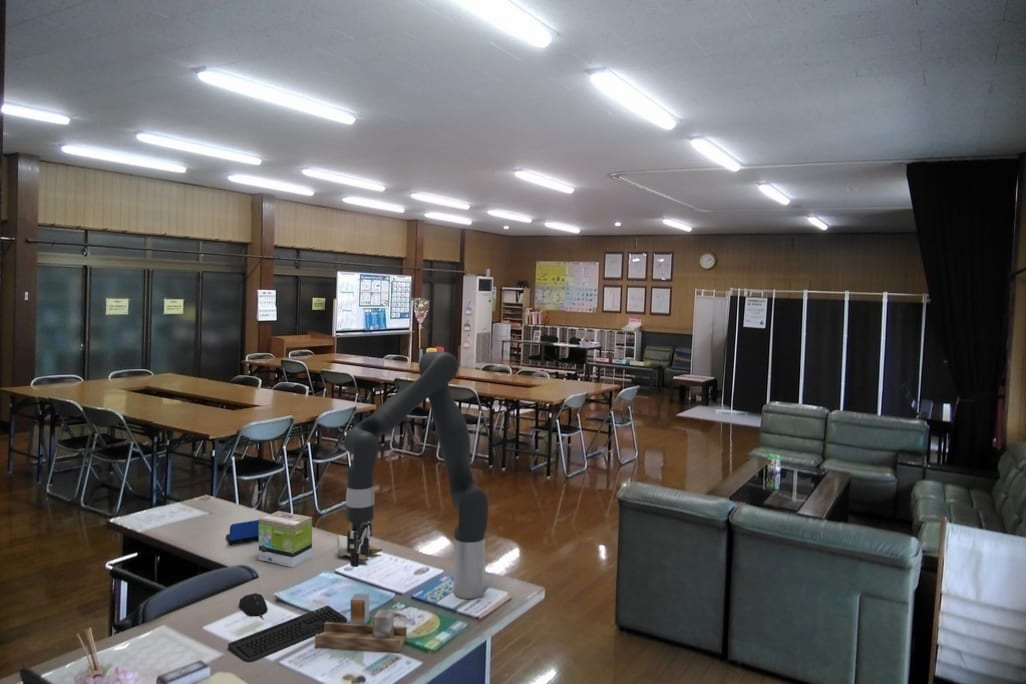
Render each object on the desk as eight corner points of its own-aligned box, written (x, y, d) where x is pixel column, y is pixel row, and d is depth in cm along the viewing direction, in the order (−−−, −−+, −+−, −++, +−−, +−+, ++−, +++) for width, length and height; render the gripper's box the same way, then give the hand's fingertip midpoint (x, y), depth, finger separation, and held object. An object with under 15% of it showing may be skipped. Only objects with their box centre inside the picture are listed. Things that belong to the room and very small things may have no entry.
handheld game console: (269, 531, 258) (269, 507, 257) (276, 542, 246) (276, 517, 246) (225, 538, 250) (224, 513, 249) (230, 549, 238) (230, 524, 238)
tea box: (257, 561, 228) (257, 518, 227) (278, 551, 237) (278, 509, 236) (293, 568, 222) (293, 524, 221) (313, 557, 231) (313, 515, 231)
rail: (406, 637, 178) (406, 608, 177) (399, 652, 170) (399, 621, 170) (325, 632, 180) (325, 603, 179) (315, 647, 172) (314, 616, 172)
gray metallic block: (369, 618, 188) (369, 594, 188) (364, 626, 184) (364, 601, 183) (355, 617, 189) (355, 593, 188) (349, 625, 184) (349, 600, 184)
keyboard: (248, 666, 164) (248, 658, 164) (227, 650, 171) (227, 643, 171) (350, 623, 186) (350, 616, 186) (327, 611, 193) (327, 604, 193)
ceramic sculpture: (347, 525, 239) (384, 533, 234) (345, 548, 240) (382, 557, 235) (329, 535, 229) (367, 543, 224) (328, 559, 230) (366, 568, 225)
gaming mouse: (251, 624, 185) (251, 609, 184) (236, 604, 196) (236, 590, 196) (274, 617, 189) (274, 603, 188) (258, 598, 200) (258, 585, 200)
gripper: (365, 511, 177) (365, 571, 178) (381, 495, 191) (380, 551, 192) (337, 509, 178) (337, 569, 179) (355, 494, 192) (355, 550, 193)
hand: (359, 560), depth 185 cm, fingers open, 8 cm apart
